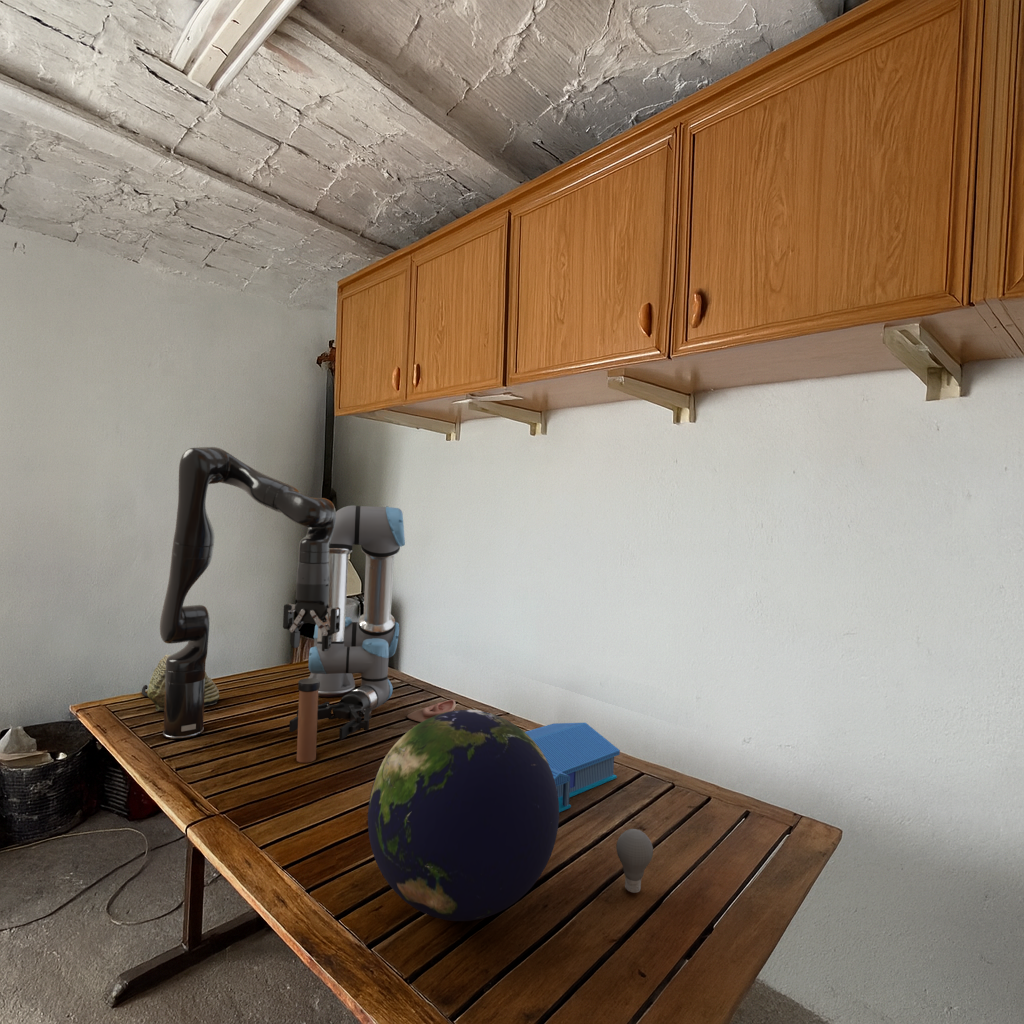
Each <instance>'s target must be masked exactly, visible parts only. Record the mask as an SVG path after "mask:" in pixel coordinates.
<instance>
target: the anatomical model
mask: <svg viewBox="0 0 1024 1024" xmlns="http://www.w3.org/2000/svg"><path fill="white" fill-rule="evenodd" d="M456 705H457V704H456V700H454V699H449V700H445V701H440V702H438V703H434V704H432V705H428V706H426V707H423V708H419V709H416V710H414V711H411V712H410V713H408V714H407V715H406V717H407V719H409V720H411V721H415V722H417V723H421V722H423V721H425V720H427V719H429V718H431V717H433V716H436V715H439V714H442V713H445V712H450V711H455V708H456Z"/></svg>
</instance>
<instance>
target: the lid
mask: <svg viewBox="0 0 1024 1024" xmlns="http://www.w3.org/2000/svg"><path fill="white" fill-rule="evenodd" d="M319 688H320V680H319V679H316V678H308V677H307V678H302V679H299V680H298V683H297V690H298V691H299V690H300V691H315V690H318V689H319Z"/></svg>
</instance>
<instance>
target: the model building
mask: <svg viewBox="0 0 1024 1024" xmlns="http://www.w3.org/2000/svg"><path fill="white" fill-rule="evenodd" d="M524 732H525V733H526V734H527V735H528V736H529V737H530V738H531V739H532V740H533V741H534V742H535V743H536V744H537V746H538V747H539V748H540V750H541V751H542V753H543V754H544V756H545V758H546V760H547V761H548V764H549V766H550V769H551V771H552V774H553V777H554V780H555V784H556V788H557V793H558V801H559V813H562V812H563V811H566V810H569V809H571V808H572V805H571V804H570V798H572V797H575V796H577V795H580V794H582V793H585V792H587V791H589V790H591V789H594V788H597V787H599V786H601V785H603V784H605V783H609V782H610V781H613V780H615V779H617V778H618V776H617V775H616V774H614V771H615V770H614V768H615V767H614V765H615V757H617V756H620V754H621V750H620V749H619V748H618V747H617V746H616V745H614V744H613V743H612V742H611V741H610V740H607V738H605V737H604V736H603V735H601V734H600V733H599V732H598V731H597V730H596V729H594V728H593V727H592V726H591V725H589V724H588V723H587V722H560V723H559V722H558V723H555V722H554V723H550V724H546V725H544V726H543V725H542V726H540V727H537V728H533V729H530V730H526V731H524Z"/></svg>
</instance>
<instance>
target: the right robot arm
mask: <svg viewBox="0 0 1024 1024" xmlns="http://www.w3.org/2000/svg"><path fill="white" fill-rule="evenodd" d="M403 513H404V512H403V511H402V509H401V508H399V507H392V506H391V507H390V506H388V505H387V506H371V505H367V506H366V505H347V506H344V507H341V508H339V509H338V510H336V521H335V526H334V530H333V534H332V538H331V541H330V545H329V569H330V580H329V599H328V606H329V608H337V607H339V608H340V631H339V632H337V633H334V634H332V636H331V647H330V648H329V650H328V651H322V636H324V635H323V633H322V631H321V629H320V628H318V626H317V624H315V626H314V632H313V639H314V640H313V646H312V647H310V648H309V651H308V671H309V672H310V674H309V677H307V678H316V679H319V680H320V688H319V694H318V698H319V697H320V698H336V697H342V698H341V699H340V700H339V702H338V703H335V704H331V703H330V702H329V701H325V702H323V703H321V704H318V720H319V721H321V720H326V719H328V720H330V721H331V720H341V719H342V720H346V721H348V722H347V723H345V724H343V725H342V726H341V727H339V731H338V740H339V741H340V740H341V741H342V740H344V739H346V738H347V737H348V736H350V735H351V734H353V733H356V732H357V731H361V730H362V729H363V731H369V729H370V720H371V719H372V713H373V712H372V711H374V710H375V709H377V708H379V707H380V706H382V705H384V704H385V703H386V702H388V700H389V699H390V698H391V697H392V695H393V693H394V692H393V691H394V687H393V685H392V682H391V680H390V679H389V677H388V675H389V658H392V657H393V656H394V655H395V654H396V652H397V647H398V643H399V636H400V635H399V634H400V624H399V622H397V621H396V619H395V616H393V615H392V603H393V602H392V599H393V586H394V585H393V583H394V571H395V570H394V569H395V556H396V555H397V554H398V553H400V550H401V548H402V547H404V546H405V545H406V538H405V526H404V514H403ZM353 545H354V546H358V545H359V546H360V549H361V552H362V553H363V554H365V569H364V571H365V573H364V594H363V595H364V598H363V614H361V615H360V616H359V618H358V621H353V619H352V617H350V616H347V593H348V575H349V574H348V570H349V555H350V554H351V553H353ZM326 617H327V619H328V620H329V623H330V618H331V617H330V616H329V613H327V615H326ZM322 622H323V621H322ZM329 625H330V624H329ZM353 674H360V678H361V680H360V682H361V683H360V686H359V687H357V688H356V682H355V679H354V678H355V677H354V675H353ZM330 704H331V705H330ZM362 719H363V720H362ZM318 720H317V721H318ZM288 727H289V730H288V732H289V733H293V732H295V731H298V709H296V716H294V718H292V719H290V720H289V726H288Z"/></svg>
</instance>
